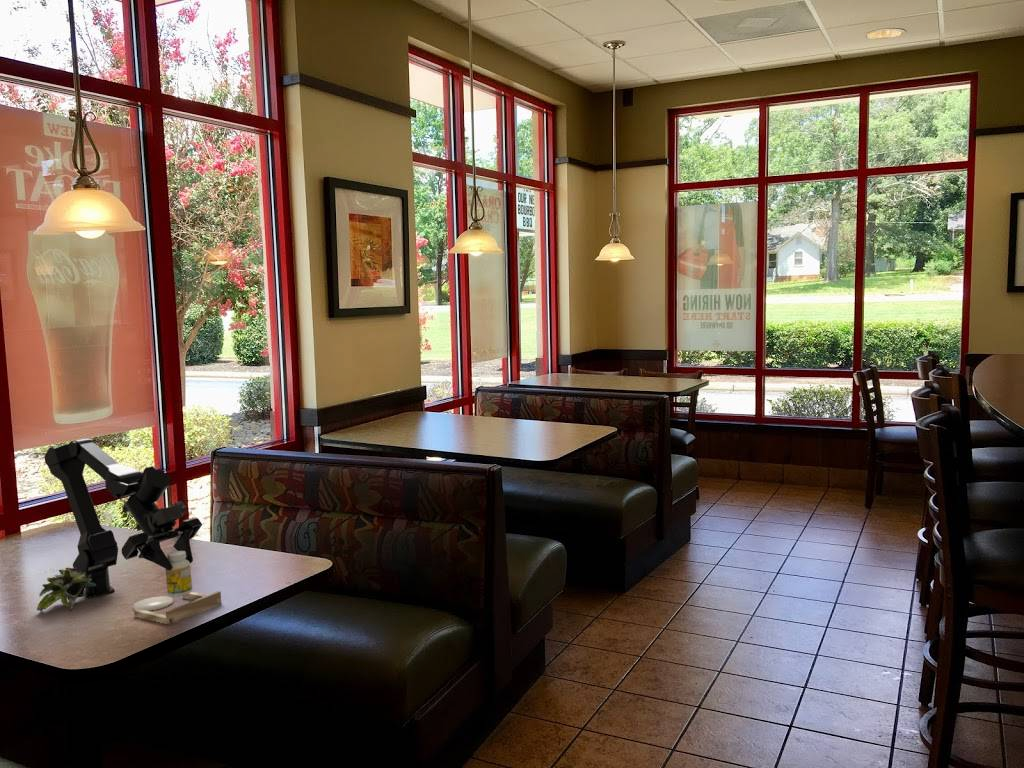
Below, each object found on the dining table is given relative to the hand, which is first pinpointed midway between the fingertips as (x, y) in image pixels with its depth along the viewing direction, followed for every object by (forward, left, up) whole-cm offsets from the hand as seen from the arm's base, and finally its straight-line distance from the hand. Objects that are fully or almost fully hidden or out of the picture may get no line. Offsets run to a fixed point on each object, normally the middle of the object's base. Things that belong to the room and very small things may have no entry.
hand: (181, 565), depth 191 cm
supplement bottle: (-1, 0, -7) cm, 7 cm away
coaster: (-11, -4, -11) cm, 16 cm away
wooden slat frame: (-2, -1, -11) cm, 11 cm away
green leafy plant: (-26, -19, -11) cm, 34 cm away
